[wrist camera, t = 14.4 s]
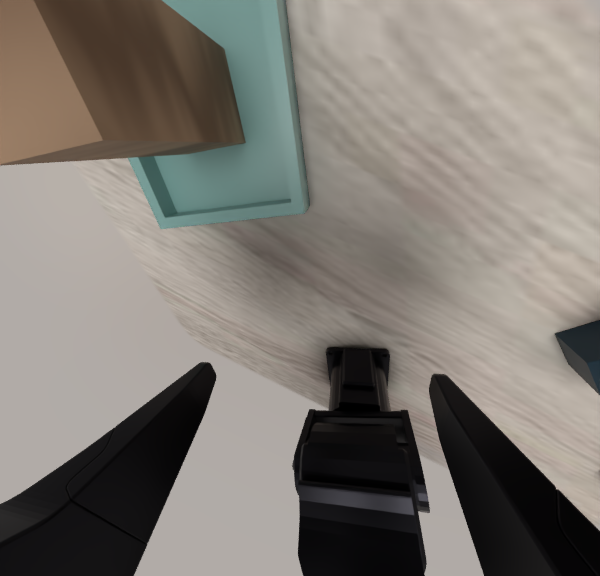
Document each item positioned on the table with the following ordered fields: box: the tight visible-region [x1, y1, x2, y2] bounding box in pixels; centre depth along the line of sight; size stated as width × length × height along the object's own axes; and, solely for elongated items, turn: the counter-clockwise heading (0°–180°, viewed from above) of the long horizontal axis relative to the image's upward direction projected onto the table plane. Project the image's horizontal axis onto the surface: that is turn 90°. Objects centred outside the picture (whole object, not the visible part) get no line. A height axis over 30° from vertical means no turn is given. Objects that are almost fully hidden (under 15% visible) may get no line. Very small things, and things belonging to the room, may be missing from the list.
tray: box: [128, 0, 310, 229], centre depth 14 cm, size 14×12×2 cm
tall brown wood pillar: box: [0, 0, 246, 165], centre depth 10 cm, size 4×4×10 cm
